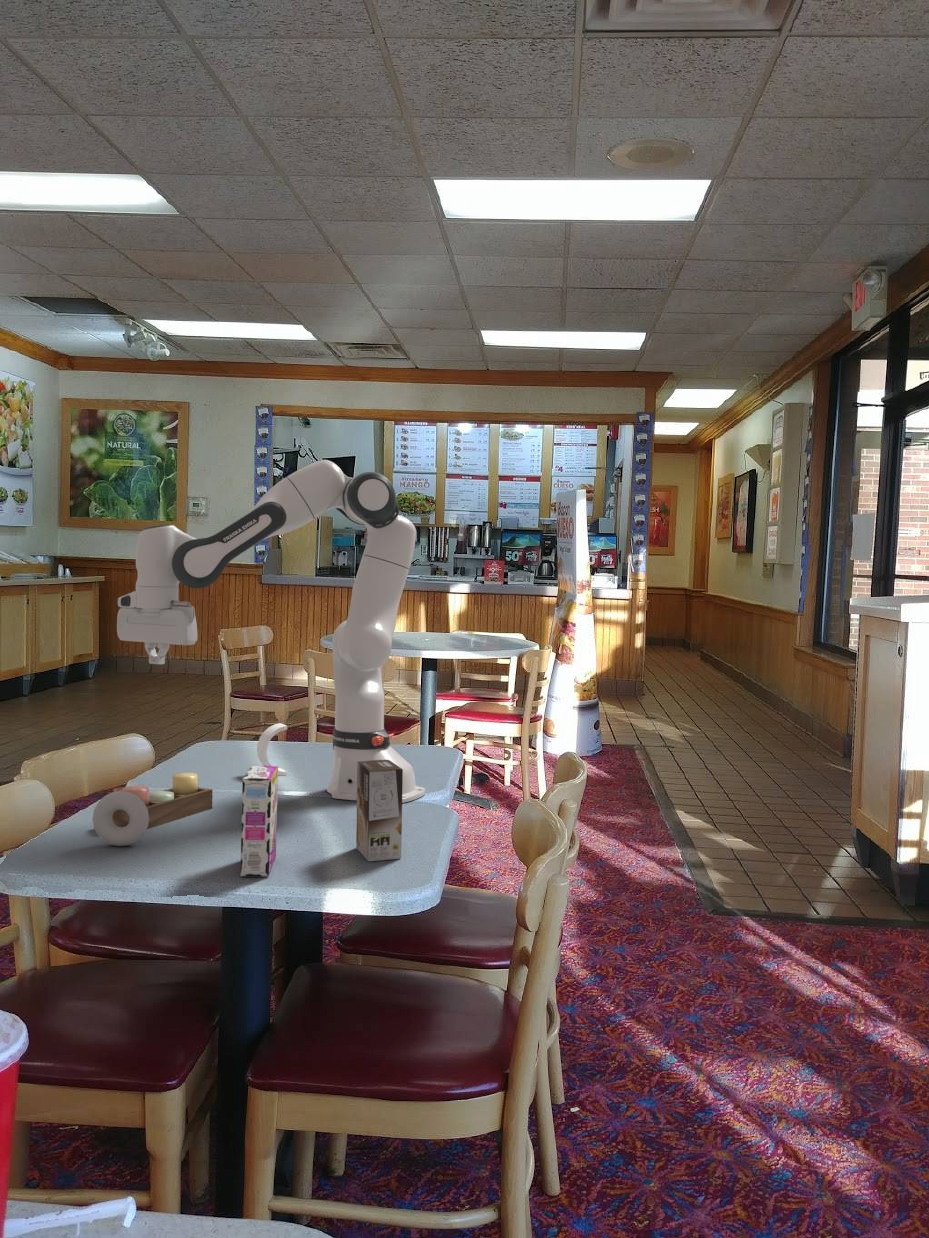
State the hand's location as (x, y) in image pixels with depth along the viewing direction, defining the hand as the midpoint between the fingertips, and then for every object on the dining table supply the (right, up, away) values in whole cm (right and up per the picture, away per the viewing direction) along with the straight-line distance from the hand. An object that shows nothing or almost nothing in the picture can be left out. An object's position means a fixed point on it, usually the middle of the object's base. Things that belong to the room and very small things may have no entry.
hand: (156, 663), depth 208 cm
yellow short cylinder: (+9, -27, -9) cm, 29 cm away
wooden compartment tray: (+6, -30, -15) cm, 34 cm away
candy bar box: (+32, -33, -45) cm, 64 cm away
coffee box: (+51, -33, -36) cm, 70 cm away
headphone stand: (+20, -28, +26) cm, 43 cm away
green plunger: (+6, -29, -15) cm, 33 cm away
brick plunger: (+3, -27, -21) cm, 34 cm away
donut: (+5, -31, -35) cm, 47 cm away
